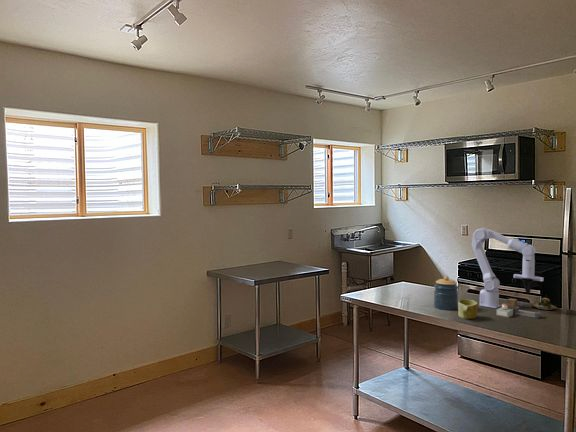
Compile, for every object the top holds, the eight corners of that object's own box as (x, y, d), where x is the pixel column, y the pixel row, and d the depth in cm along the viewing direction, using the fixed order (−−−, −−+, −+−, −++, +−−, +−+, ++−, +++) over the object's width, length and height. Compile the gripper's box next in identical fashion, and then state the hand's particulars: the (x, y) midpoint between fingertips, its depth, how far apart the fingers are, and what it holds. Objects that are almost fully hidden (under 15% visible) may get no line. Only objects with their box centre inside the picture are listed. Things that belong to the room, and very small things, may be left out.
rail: (501, 311, 243) (501, 307, 243) (505, 310, 247) (505, 305, 246) (537, 318, 230) (537, 313, 230) (541, 316, 233) (541, 311, 233)
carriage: (504, 312, 241) (505, 299, 241) (509, 310, 245) (509, 297, 245) (514, 314, 238) (514, 301, 237) (519, 311, 242) (519, 299, 241)
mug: (459, 309, 242) (463, 293, 238) (477, 318, 236) (483, 302, 232) (449, 318, 233) (454, 302, 229) (468, 327, 227) (474, 311, 223)
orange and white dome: (501, 308, 237) (501, 304, 236) (503, 307, 238) (503, 303, 238) (506, 309, 235) (506, 305, 235) (508, 308, 236) (508, 304, 236)
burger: (527, 307, 254) (527, 294, 253) (542, 305, 258) (543, 292, 257) (546, 312, 242) (546, 298, 242) (562, 310, 247) (562, 296, 246)
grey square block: (496, 315, 237) (496, 309, 237) (501, 313, 241) (501, 307, 241) (508, 317, 232) (508, 311, 232) (512, 315, 236) (513, 309, 236)
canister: (460, 310, 246) (460, 278, 245) (435, 309, 248) (435, 277, 248) (456, 305, 258) (456, 274, 258) (432, 304, 261) (432, 273, 260)
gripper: (511, 266, 246) (510, 291, 247) (540, 270, 235) (539, 296, 236) (516, 265, 251) (516, 290, 251) (545, 268, 240) (544, 294, 240)
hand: (527, 292), depth 244 cm, fingers closed
